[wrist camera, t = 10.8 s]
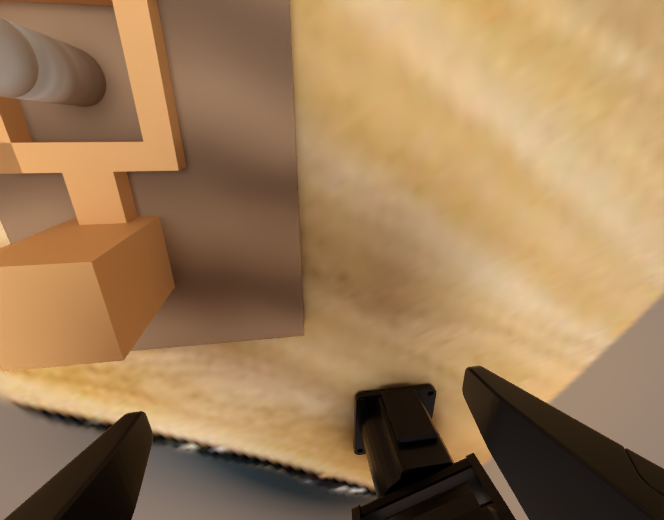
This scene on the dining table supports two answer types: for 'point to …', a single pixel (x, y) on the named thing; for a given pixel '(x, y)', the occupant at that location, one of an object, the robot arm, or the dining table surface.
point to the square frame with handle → (92, 222)
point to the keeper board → (198, 145)
